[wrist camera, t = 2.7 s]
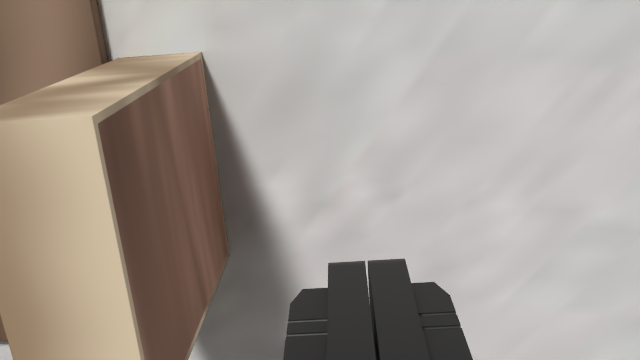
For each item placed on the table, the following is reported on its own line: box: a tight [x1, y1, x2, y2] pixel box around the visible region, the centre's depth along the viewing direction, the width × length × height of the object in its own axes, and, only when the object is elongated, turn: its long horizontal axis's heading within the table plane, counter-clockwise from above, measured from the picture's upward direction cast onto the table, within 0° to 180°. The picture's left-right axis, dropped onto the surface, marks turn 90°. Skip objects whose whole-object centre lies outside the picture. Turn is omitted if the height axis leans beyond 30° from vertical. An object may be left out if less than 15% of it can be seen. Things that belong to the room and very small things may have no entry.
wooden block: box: [0, 52, 229, 360], centre depth 18 cm, size 3×8×10 cm, turn 4°
